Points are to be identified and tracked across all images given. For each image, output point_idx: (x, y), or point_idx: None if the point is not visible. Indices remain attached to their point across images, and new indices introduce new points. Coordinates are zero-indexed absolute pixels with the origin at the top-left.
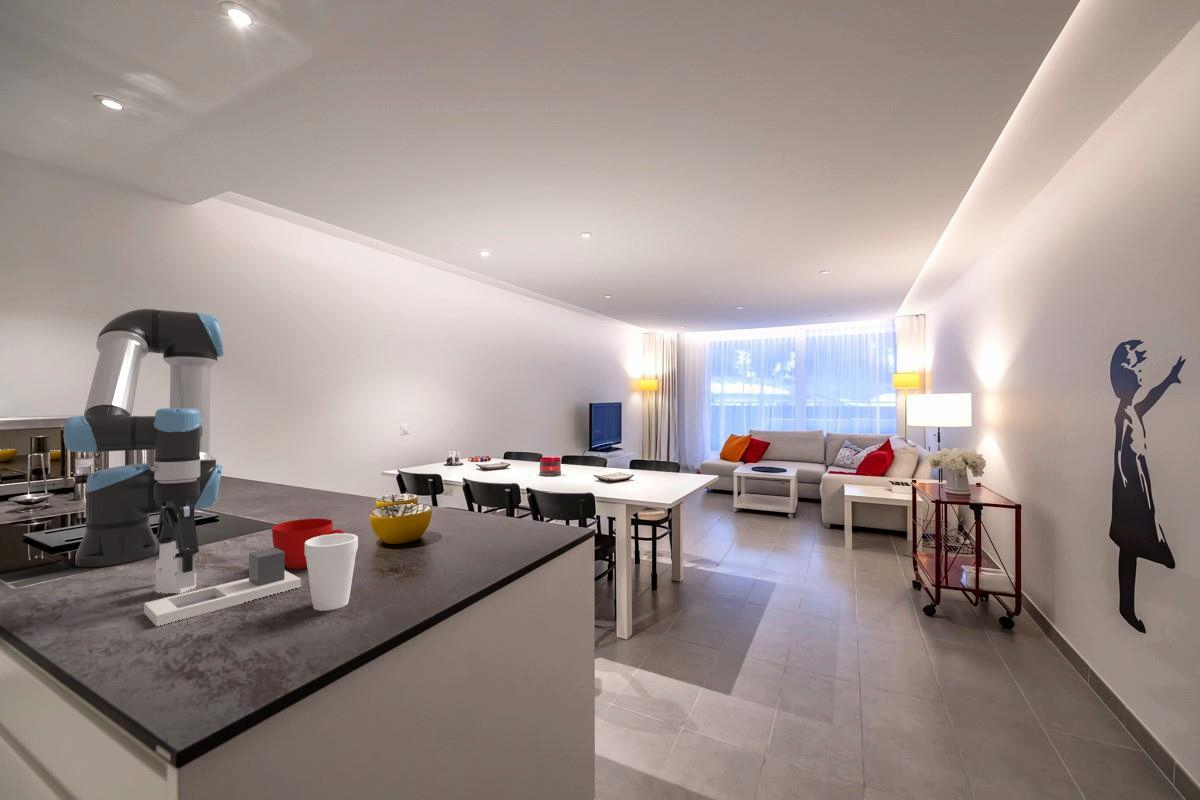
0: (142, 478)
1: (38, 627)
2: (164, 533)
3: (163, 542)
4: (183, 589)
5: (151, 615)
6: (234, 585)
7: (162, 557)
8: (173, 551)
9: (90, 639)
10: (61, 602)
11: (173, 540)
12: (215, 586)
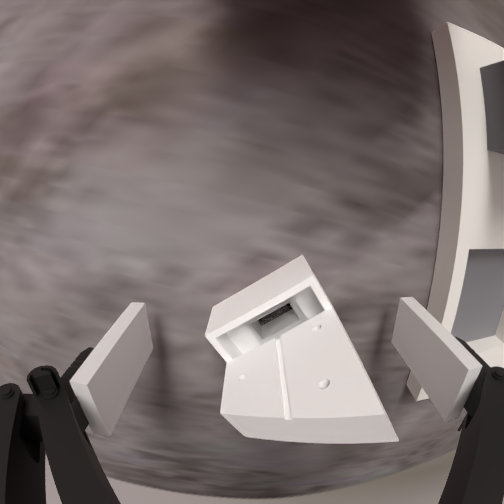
0: None
1: (300, 484)
2: (111, 489)
3: (85, 425)
4: (330, 302)
5: None
6: (493, 200)
7: (277, 439)
8: (345, 440)
9: (437, 433)
10: (162, 460)
11: (64, 390)
12: (461, 244)
